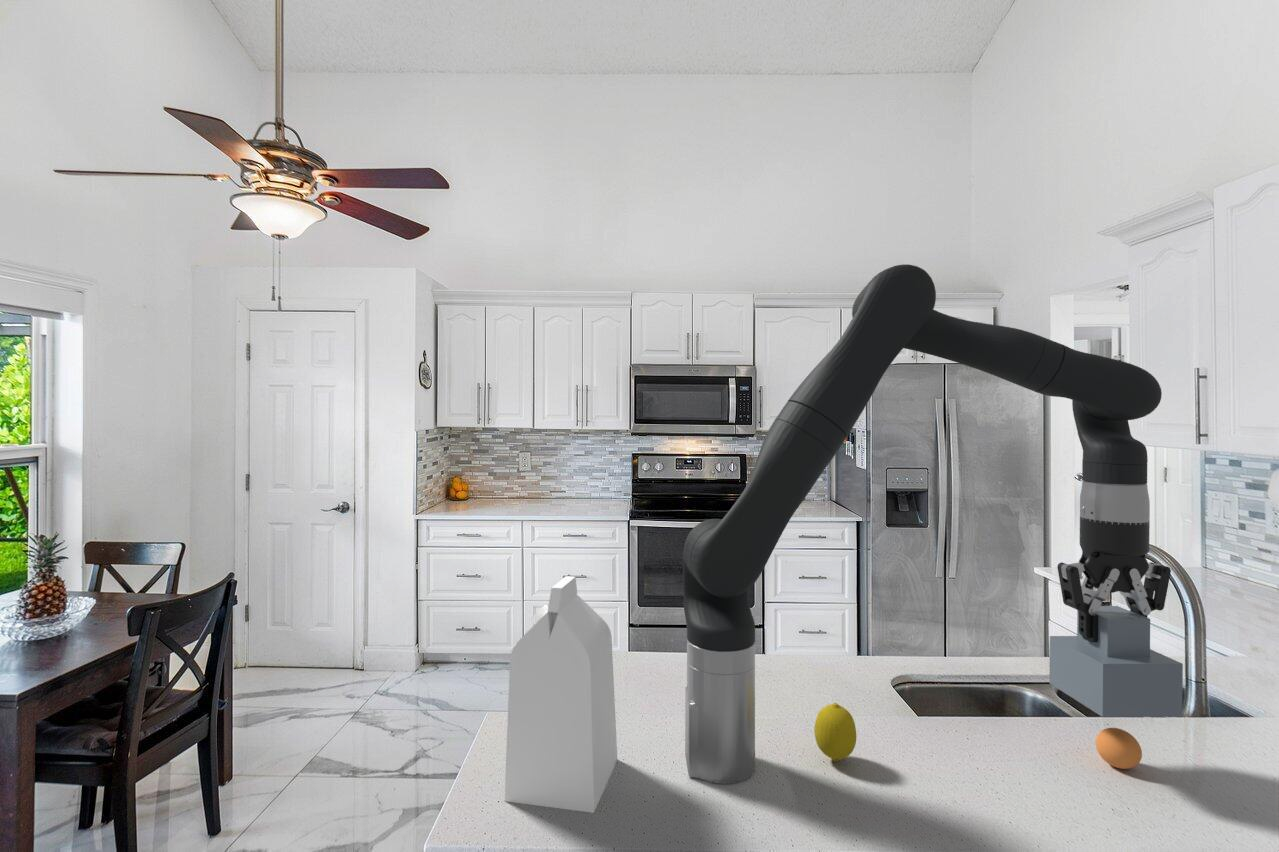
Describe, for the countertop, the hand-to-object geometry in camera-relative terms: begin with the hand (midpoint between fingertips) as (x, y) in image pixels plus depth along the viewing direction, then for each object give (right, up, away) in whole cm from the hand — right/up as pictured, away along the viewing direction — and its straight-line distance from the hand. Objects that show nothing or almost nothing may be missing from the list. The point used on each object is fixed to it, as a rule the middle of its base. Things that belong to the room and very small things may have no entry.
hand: (1112, 640), depth 85 cm
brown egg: (+1, -15, 0) cm, 15 cm away
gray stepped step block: (0, -8, 0) cm, 8 cm away
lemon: (-37, -18, +2) cm, 41 cm away
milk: (-74, -18, -2) cm, 76 cm away
